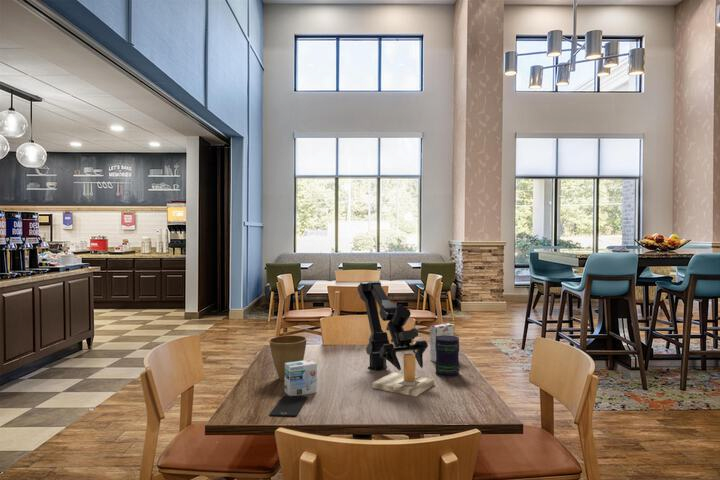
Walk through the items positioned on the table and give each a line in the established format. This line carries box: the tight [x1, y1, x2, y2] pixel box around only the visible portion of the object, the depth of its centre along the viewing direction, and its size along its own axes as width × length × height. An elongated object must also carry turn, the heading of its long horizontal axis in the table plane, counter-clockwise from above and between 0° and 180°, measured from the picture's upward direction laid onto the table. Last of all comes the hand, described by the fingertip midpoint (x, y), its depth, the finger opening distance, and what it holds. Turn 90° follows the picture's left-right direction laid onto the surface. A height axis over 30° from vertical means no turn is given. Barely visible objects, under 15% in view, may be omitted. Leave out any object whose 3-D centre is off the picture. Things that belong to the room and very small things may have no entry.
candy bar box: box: [429, 322, 455, 363], centre depth 211 cm, size 11×5×16 cm, turn 120°
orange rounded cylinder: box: [403, 353, 416, 387], centre depth 171 cm, size 4×4×12 cm
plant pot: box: [268, 334, 307, 382], centre depth 184 cm, size 15×15×16 cm
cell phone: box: [269, 394, 309, 418], centre depth 154 cm, size 9×18×1 cm, turn 175°
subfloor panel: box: [372, 371, 435, 397], centre depth 174 cm, size 18×16×2 cm
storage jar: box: [434, 335, 460, 378], centre depth 190 cm, size 10×10×15 cm
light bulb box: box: [284, 359, 318, 396], centre depth 168 cm, size 11×7×11 cm, turn 118°
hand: (411, 368), depth 170 cm, fingers open, 9 cm apart
